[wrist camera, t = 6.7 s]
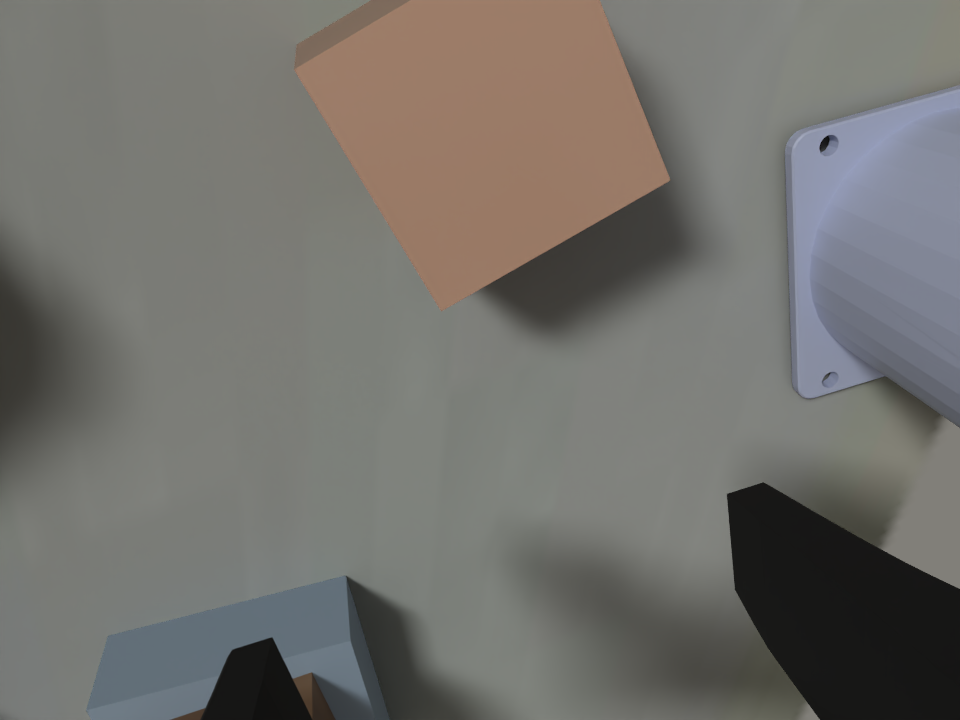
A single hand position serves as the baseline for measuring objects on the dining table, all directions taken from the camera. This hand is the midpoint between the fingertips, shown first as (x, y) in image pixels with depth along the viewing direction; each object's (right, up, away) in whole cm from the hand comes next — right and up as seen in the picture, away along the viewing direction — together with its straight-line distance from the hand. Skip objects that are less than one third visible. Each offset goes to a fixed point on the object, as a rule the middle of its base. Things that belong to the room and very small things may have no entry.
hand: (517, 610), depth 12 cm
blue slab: (-8, -6, +13) cm, 16 cm away
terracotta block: (-1, +10, +6) cm, 12 cm away
